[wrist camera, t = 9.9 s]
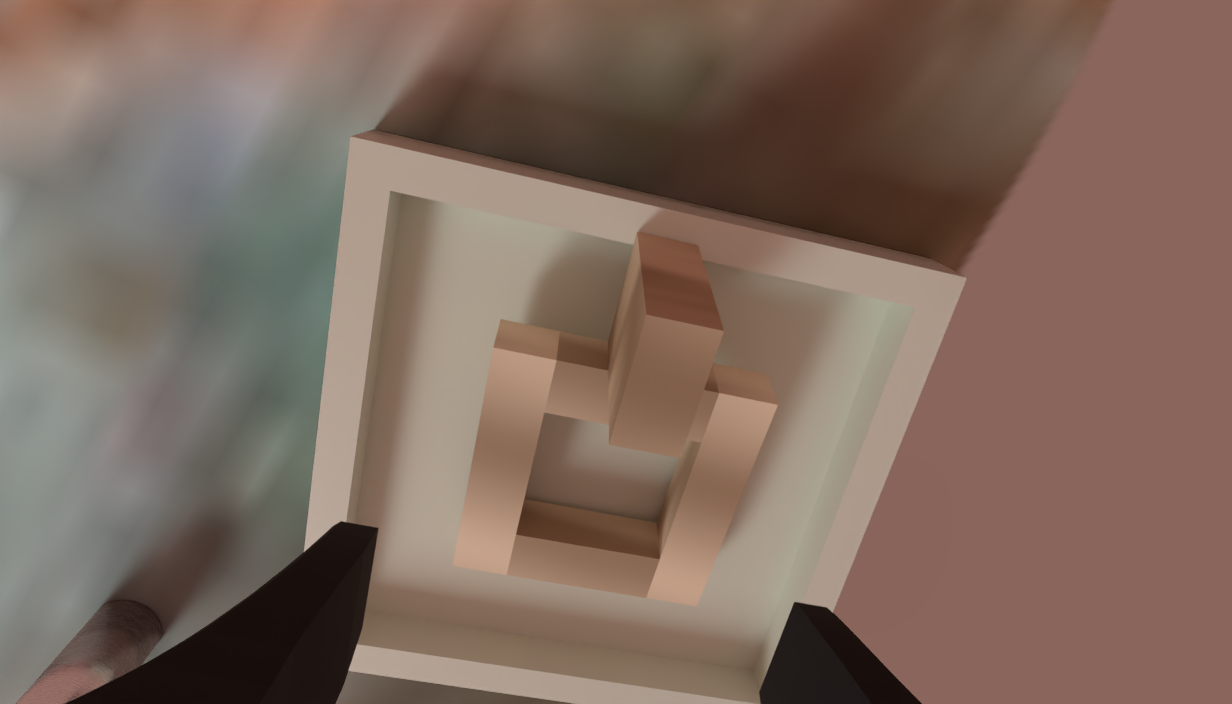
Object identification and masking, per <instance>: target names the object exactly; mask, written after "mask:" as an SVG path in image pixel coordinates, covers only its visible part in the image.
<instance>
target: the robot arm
mask: <svg viewBox="0 0 1232 704" xmlns="http://www.w3.org/2000/svg"><path fill="white" fill-rule="evenodd" d="M378 529H379V528H377V527H371V526H365V525H360V524H354V523H349V522H343V521H340V522H339V523H337V524H335V525H334V526H332V527H331V528H330V529H329V530H328V531H327V532H326V533H325V534H324V535H323V536H322V537H320V538H319V539H318V540H317V541H316V542H315V543H314V544H313V545H311V546H310V547H309V548H308V549H307V550H306V551H305V552H303V553H302V554H301V555H300V556H299V557H298V558H296V559H295V560H294V561H293V562H292V563H290V564H289V565H288V566H287V567H286V568H284V569H283V570H282V571H281V572H279V573H278V574H277V575H276V576H274V577H273V578H272V579H270V580H269V581H268V582H267V583H265V584H264V585H263V586H262V587H260V588H259V589H258V590H257V591H255V592H254V593H253V594H251V595H250V596H249V597H247V598H246V599H244V600H243V601H242V602H240V603H239V604H237V605H236V606H234V607H233V608H232V609H230V610H229V611H227V612H226V613H225V614H223V615H222V616H220V617H219V618H217V619H216V620H215V621H213V622H212V623H210V624H209V625H207V626H206V627H204V628H203V629H201V630H200V631H198V632H197V633H195V634H194V635H192V636H190V637H189V638H187V639H186V640H184V641H182V642H181V643H179V644H178V645H176V646H174V647H173V648H171V649H169V650H167V651H166V652H164V653H162V654H161V655H159V656H157V657H156V658H154V659H152V660H150V661H149V662H147V663H145V664H143V665H141V666H140V667H138V668H136V669H134V670H132V671H130V672H128V673H126V674H124V675H122V676H120V677H118V678H116V679H114V680H112V681H110V682H108V683H106V684H104V685H102V686H100V687H98V688H96V689H94V690H92V691H90V692H88V693H86V694H84V695H82V696H80V697H78V698H76V699H74V700H72V701H70V702H67V703H65V704H335V703H336V701H337V699H338V696H339V694H340V692H341V690H342V688H343V685H344V682H345V679H346V676H347V673H348V670H349V667H350V664H351V661H352V658H353V655H354V652H355V649H356V646H357V643H358V640H359V637H360V634H361V631H362V627H363V621H364V615H365V609H366V603H367V597H368V591H369V584H370V578H371V572H372V566H373V560H374V554H375V548H376V541H377V535H378ZM759 695H760V703H761V704H922V703H921V702H920V701H918V700H917V698H916V697H914V695H913V694H911V692H910V691H909V690H908V689H907V688H906V687H905V686H904V685H903V684H902V683H901V682H900V681H899V680H898V679H897V678H896V677H895V676H894V675H893V674H892V673H891V672H890V671H889V670H888V669H887V668H886V667H885V666H884V665H883V664H882V662H880V661H879V659H878V658H877V657H876V656H875V655H874V654H873V653H872V652H871V651H870V650H869V649H868V648H867V647H866V646H865V645H864V644H863V643H862V642H861V640H860V639H859V638H858V637H857V636H856V635H854V633H853V632H852V631H851V630H850V629H849V628H848V627H847V626H846V625H845V624H844V623H843V622H842V621H841V620H840V619H839V618H838V617H837V616H836V615H835V614H834V613H833V612H831V611H830V610H829V609H828V608H827V607H822V606H816V605H810V604H805V603H799V602H794V604H793V606H792V609H791V611H790V614H789V617H788V619H787V622H786V624H785V627H784V629H783V632H782V635H781V637H780V640H779V642H778V645H777V647H776V650H775V653H774V655H773V658H772V660H771V663H770V665H769V668H768V671H767V673H766V676H765V678H764V681H763V683H762V686H761V689H760V691H759Z"/></svg>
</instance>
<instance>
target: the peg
mask: <svg viewBox="0 0 1232 704" xmlns="http://www.w3.org/2000/svg"><path fill="white" fill-rule="evenodd" d="M161 634H162V628H161V624H160V622H159V620H158V618H157V617H156V615H155V614H154V613H153V612H152V611H151V610H149V609H148V608H146V607H145V606H143V605H141V604H138V603H135V602H132V601H125V600H119V601H113V602H109V603H107V604H105V605H103V606H102V607H101V608H100V609H99V610H98V611H97V612H96V613H95V614H94V615H93V616H92V618H91V619H90V620H89V621H88V622H87V623H86V624H85V626H84V627H83V628H82V629H81V630H80V631H79V632H78V633H77V635H76V636H75V637H74V638H73V639H72V640H71V641H70V643H69V644H68V645H67V646H66V647H65V648H64V649H63V650H62V652H61V653H60V654H59V655H58V656H57V657H56V658H55V660H54V661H53V662H52V663H51V664H50V665H49V666H48V667H47V669H46V670H45V671H44V672H43V673H42V674H41V675H40V677H39V678H38V679H37V680H36V681H35V682H34V683H33V684H32V686H31V687H30V688H29V689H28V690H27V691H26V692H25V693H24V695H23V696H22V697H21V698H20V699H19V700H18V701H17V703H16V704H65V703H67V702H70V701H72V700H74V699H76V698H78V697H80V696H82V695H84V694H86V693H88V692H90V691H92V690H94V689H96V688H98V687H100V686H102V685H104V684H106V683H108V682H110V681H112V680H114V679H116V678H118V677H120V676H122V675H124V674H126V673H128V672H130V671H132V670H134V669H136V668H138V667H140V666H141V665H142V664H143V662H144V661H145V659H146V658H147V657H148V655H149V654H150V653H151V651H152V650H153V649H154V647H155V646H156V644H157V643H158V642H159V640H160V638H161Z"/></svg>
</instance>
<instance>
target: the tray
mask: <svg viewBox="0 0 1232 704" xmlns="http://www.w3.org/2000/svg"><path fill="white" fill-rule="evenodd" d="M637 232H641V233H645V234H650V235H654V236H659V237H663V238H668V239H672V240H676V241H681V242H685V243H690V244H694V245H698V247H699V250H700V253H701V257H702V260H703V263H704V266H705V270H706V273H707V276H708V280H709V283H710V286H711V289H712V293H713V296H714V299H715V303H716V306H717V309H718V313H719V316H720V319H721V322H722V326H723V329H724V333H723V336H722V339H721V342H720V345H719V347H718V350H717V353H716V356H715V359H714V362H713V363H716V364H721V365H726V366H731V367H735V368H740V369H745V370H750V371H755V372H760V373H765V374H767V376H768V379H769V382H770V385H771V387H772V390H773V393H774V395H775V398H776V401H777V403H778V406H777V409H776V411H775V414H774V416H773V419H772V421H771V424H770V426H769V429H768V431H767V433H766V436H765V438H764V441H763V443H762V446H761V448H760V451H759V453H758V456H757V458H756V461H755V463H754V466H753V468H752V471H751V473H750V476H749V478H748V481H747V483H746V486H745V488H744V491H743V493H742V495H741V498H740V500H739V503H738V505H737V508H736V510H735V513H734V515H733V518H732V520H731V523H730V525H729V528H728V530H727V533H726V535H725V538H724V540H723V543H722V545H721V548H720V550H719V553H718V555H717V558H716V560H715V562H714V565H713V567H712V570H711V572H710V575H709V577H708V580H707V582H706V585H705V587H704V590H703V592H702V595H701V597H700V600H699V602H698V605H697V606H692V605H686V604H680V603H674V602H668V601H662V600H655V599H649V598H643V597H637V596H631V595H625V594H619V593H613V592H607V591H601V590H595V589H589V588H583V587H577V586H571V585H564V584H558V583H552V582H546V581H540V580H534V579H528V578H522V577H516V576H510V575H504V574H498V573H492V572H486V571H480V570H473V569H467V568H461V567H455V566H453V561H454V555H455V550H456V545H457V539H458V534H459V529H460V523H461V518H462V512H463V507H464V502H465V496H466V491H467V486H468V480H469V475H470V469H471V464H472V459H473V453H474V448H475V443H476V437H477V432H478V426H479V421H480V416H481V410H482V405H483V399H484V394H485V389H486V383H487V378H488V373H489V367H490V362H491V356H492V351H493V346H494V343H495V339H496V335H497V331H498V328H499V324H500V320H501V319H503V320H508V321H513V322H517V323H522V324H527V325H532V326H537V327H542V328H546V329H551V330H556V331H561V332H566V333H571V334H576V335H580V336H585V337H590V338H595V339H600V340H605V341H608V340H609V336H610V332H611V328H612V324H613V321H614V317H615V313H616V309H617V306H618V302H619V298H620V294H621V291H622V287H623V283H624V279H625V276H626V272H627V268H628V264H629V260H630V257H631V253H632V249H633V245H634V242H635V238H636V234H637ZM966 280H967V277H965V276H963V275H961V274H959V273H957V272H955V271H954V270H952V269H950V268H948V267H946V266H944V265H943V264H941V263H939V262H937V261H935V260H933V259H931V258H926V257H922V256H918V255H913V254H909V253H905V252H900V251H896V250H892V249H887V248H883V247H879V246H874V245H870V244H866V243H861V242H857V241H853V240H848V239H844V238H840V237H835V236H831V235H827V234H823V233H818V232H814V231H810V230H805V229H801V228H797V227H792V226H788V225H784V224H779V223H775V222H771V221H766V220H762V219H758V218H753V217H749V216H745V215H740V214H736V213H732V212H727V211H723V210H719V209H714V208H710V207H706V206H701V205H697V204H693V203H688V202H684V201H680V200H676V199H671V198H667V197H663V196H658V195H654V194H650V193H645V192H641V191H637V190H632V189H628V188H624V187H619V186H615V185H611V184H606V183H602V182H598V181H593V180H589V179H585V178H580V177H576V176H572V175H567V174H563V173H559V172H554V171H550V170H546V169H541V168H537V167H533V166H529V165H524V164H520V163H516V162H511V161H507V160H503V159H498V158H494V157H490V156H485V155H481V154H477V153H472V152H468V151H464V150H459V149H455V148H451V147H446V146H442V145H438V144H433V143H429V142H425V141H420V140H416V139H412V138H407V137H403V136H399V135H394V134H390V133H386V132H382V131H377V130H370V131H367V132H364V133H360V134H357V135H354V136H351V139H350V148H349V157H348V165H347V174H346V183H345V192H344V201H343V210H342V219H341V228H340V236H339V245H338V254H337V263H336V272H335V281H334V290H333V299H332V307H331V316H330V325H329V334H328V343H327V352H326V361H325V370H324V378H323V387H322V396H321V405H320V414H319V423H318V432H317V441H316V450H315V458H314V467H313V476H312V485H311V494H310V503H309V512H308V521H307V529H306V538H305V547H304V552H305V551H306V550H307V549H308V548H309V547H310V546H311V545H313V544H314V543H315V542H316V541H317V540H318V539H319V538H320V537H322V536H323V535H324V534H325V533H326V532H327V531H328V530H329V529H330V528H331V527H332V526H334V525H335V524H337V523H339V522H340V521H343V522H349V523H354V524H360V525H365V526H371V527H377V528H379V529H378V535H377V541H376V548H375V554H374V560H373V566H372V572H371V578H370V584H369V591H368V597H367V603H366V609H365V615H364V621H363V627H362V631H361V634H360V637H359V640H358V643H357V646H356V649H355V652H354V655H353V658H352V661H351V664H350V667H349V670H348V671H354V672H361V673H367V674H374V675H381V676H388V677H395V678H402V679H409V680H416V681H423V682H430V683H437V684H444V685H450V686H457V687H464V688H471V689H478V690H485V691H492V692H499V693H506V694H513V695H520V696H527V697H533V698H540V699H547V700H554V701H561V702H568V703H575V704H761V703H760V695H759V691H760V689H761V686H762V683H763V681H764V678H765V676H766V673H767V671H768V668H769V665H770V663H771V660H772V658H773V655H774V653H775V650H776V647H777V645H778V642H779V640H780V637H781V635H782V632H783V629H784V627H785V624H786V622H787V619H788V617H789V614H790V611H791V609H792V606H793V604H794V602H799V603H805V604H810V605H816V606H822V607H827V608H828V609H829V610H830V611H831V612H833V611H834V608H835V606H836V604H837V601H838V599H839V596H840V594H841V591H842V589H843V586H844V584H845V581H846V579H847V576H848V574H849V571H850V569H851V566H852V564H853V561H854V559H855V556H856V554H857V551H858V549H859V546H860V544H861V541H862V538H863V536H864V534H865V531H866V529H867V526H868V524H869V521H870V519H871V516H872V514H873V511H874V509H875V506H876V504H877V502H878V499H879V496H880V494H881V492H882V489H883V487H884V484H885V482H886V479H887V477H888V474H889V472H890V469H891V467H892V464H893V462H894V459H895V457H896V454H897V452H898V449H899V447H900V444H901V442H902V439H903V437H904V434H905V432H906V429H907V427H908V424H909V422H910V419H911V416H912V414H913V412H914V409H915V406H916V404H917V402H918V399H919V397H920V394H921V392H922V389H923V387H924V384H925V382H926V379H927V377H928V374H929V372H930V369H931V367H932V364H933V362H934V359H935V357H936V354H937V351H938V349H939V347H940V344H941V342H942V340H943V337H944V335H945V332H946V330H947V327H948V324H949V322H950V320H951V317H952V314H953V312H954V309H955V307H956V304H957V302H958V300H959V297H960V294H961V292H962V289H963V287H964V285H965V282H966ZM678 459H679V458H676V457H671V456H666V455H660V454H655V453H650V452H645V451H639V450H634V449H629V448H623V447H618V446H613V445H609V425H606V424H601V423H596V422H591V421H586V420H580V419H575V418H570V417H565V416H560V415H555V414H549V413H544V416H543V420H542V425H541V429H540V433H539V438H538V442H537V446H536V451H535V455H534V459H533V463H532V468H531V472H530V476H529V481H528V485H527V489H526V494H525V498H524V499H527V500H533V501H538V502H544V503H549V504H555V505H561V506H566V507H572V508H578V509H583V510H589V511H594V512H600V513H606V514H611V515H617V516H623V517H628V518H634V519H639V520H645V521H651V522H656V523H657V520H658V517H659V514H660V511H661V508H662V505H663V502H664V500H665V497H666V494H667V491H668V488H669V485H670V482H671V479H672V476H673V473H674V470H675V468H676V465H677V462H678Z"/></svg>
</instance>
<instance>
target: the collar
mask: <svg viewBox="0 0 1232 704" xmlns="http://www.w3.org/2000/svg"><path fill="white" fill-rule="evenodd" d="M723 333H724V329H723V326H722V322H721V319H720V316H719V313H718V309H717V306H716V303H715V299H714V296H713V293H712V289H711V286H710V283H709V280H708V276H707V273H706V270H705V266H704V263H703V260H702V257H701V253H700V250H699V247H698V245H694V244H690V243H685V242H681V241H676V240H672V239H668V238H663V237H659V236H654V235H650V234H645V233H641V232H637V234H636V238H635V242H634V245H633V249H632V253H631V257H630V260H629V264H628V268H627V272H626V276H625V279H624V283H623V287H622V291H621V294H620V298H619V302H618V306H617V309H616V313H615V317H614V321H613V324H612V328H611V332H610V336H609V340H608V341H605V340H600V339H595V338H590V337H585V336H580V335H576V334H571V333H566V332H561V331H556V330H551V329H546V328H542V327H537V326H532V325H527V324H522V323H517V322H513V321H508V320H503V319H501V320H500V324H499V328H498V331H497V335H496V339H495V343H494V346H493V351H492V356H491V362H490V367H489V373H488V378H487V383H486V389H485V394H484V399H483V405H482V410H481V416H480V421H479V426H478V432H477V437H476V443H475V448H474V453H473V459H472V464H471V469H470V475H469V480H468V486H467V491H466V496H465V502H464V507H463V512H462V518H461V523H460V529H459V534H458V539H457V545H456V550H455V555H454V561H453V566H455V567H461V568H467V569H473V570H480V571H486V572H492V573H498V574H504V575H510V576H516V577H522V578H528V579H534V580H540V581H546V582H552V583H558V584H564V585H571V586H577V587H583V588H589V589H595V590H601V591H607V592H613V593H619V594H625V595H631V596H637V597H643V598H649V599H655V600H662V601H668V602H674V603H680V604H686V605H692V606H697V605H698V602H699V600H700V597H701V595H702V592H703V590H704V587H705V585H706V582H707V580H708V577H709V575H710V572H711V570H712V567H713V565H714V562H715V560H716V558H717V555H718V553H719V550H720V548H721V545H722V543H723V540H724V538H725V535H726V533H727V530H728V528H729V525H730V523H731V520H732V518H733V515H734V513H735V510H736V508H737V505H738V503H739V500H740V498H741V495H742V493H743V491H744V488H745V486H746V483H747V481H748V478H749V476H750V473H751V471H752V468H753V466H754V463H755V461H756V458H757V456H758V453H759V451H760V448H761V446H762V443H763V441H764V438H765V436H766V433H767V431H768V429H769V426H770V424H771V421H772V419H773V416H774V414H775V411H776V409H777V406H778V403H777V401H776V398H775V395H774V393H773V390H772V387H771V385H770V382H769V379H768V376H767V374H765V373H760V372H755V371H750V370H745V369H740V368H735V367H731V366H726V365H721V364H716V363H713V362H714V359H715V356H716V353H717V350H718V347H719V345H720V342H721V339H722V336H723ZM544 413H549V414H555V415H560V416H565V417H570V418H575V419H580V420H586V421H591V422H596V423H601V424H606V425H609V445H613V446H618V447H623V448H629V449H634V450H639V451H645V452H650V453H655V454H660V455H666V456H671V457H676V458H679V459H678V462H677V465H676V468H675V470H674V473H673V476H672V479H671V482H670V485H669V488H668V491H667V494H666V497H665V500H664V502H663V505H662V508H661V511H660V514H659V517H658V520H657V523H656V522H651V521H645V520H639V519H634V518H628V517H623V516H617V515H611V514H606V513H600V512H594V511H589V510H583V509H578V508H572V507H566V506H561V505H555V504H549V503H544V502H538V501H533V500H527V499H524V498H525V494H526V489H527V485H528V481H529V476H530V472H531V468H532V463H533V459H534V455H535V451H536V446H537V442H538V438H539V433H540V429H541V425H542V420H543V416H544Z"/></svg>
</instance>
